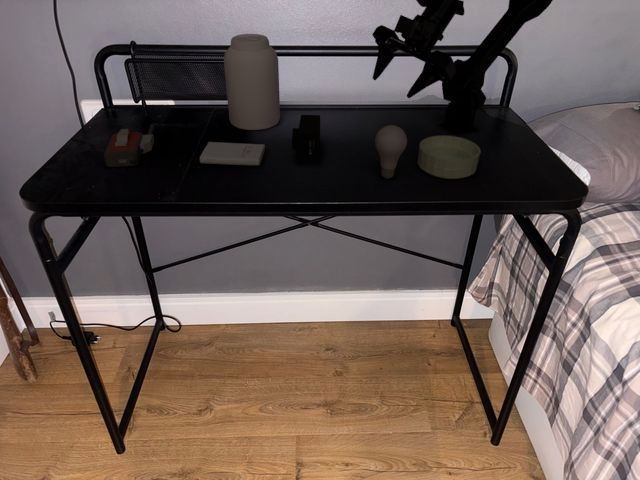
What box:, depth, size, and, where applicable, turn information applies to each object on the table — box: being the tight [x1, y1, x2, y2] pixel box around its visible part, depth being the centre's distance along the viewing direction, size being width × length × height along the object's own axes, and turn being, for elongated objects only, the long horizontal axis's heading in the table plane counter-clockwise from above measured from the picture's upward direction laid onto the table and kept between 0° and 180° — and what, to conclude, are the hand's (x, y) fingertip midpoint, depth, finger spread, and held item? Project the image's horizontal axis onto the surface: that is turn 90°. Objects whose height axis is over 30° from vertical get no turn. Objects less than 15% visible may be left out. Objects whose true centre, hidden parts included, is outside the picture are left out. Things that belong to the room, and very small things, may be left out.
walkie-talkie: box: [103, 123, 156, 168], centre depth 109 cm, size 9×4×20 cm
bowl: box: [416, 134, 482, 180], centre depth 104 cm, size 12×12×4 cm
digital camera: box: [291, 114, 321, 165], centre depth 108 cm, size 10×5×7 cm, turn 178°
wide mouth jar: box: [223, 33, 281, 131], centre depth 119 cm, size 12×12×20 cm
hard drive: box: [199, 141, 266, 167], centre depth 107 cm, size 2×8×12 cm
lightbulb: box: [374, 124, 408, 180], centre depth 98 cm, size 6×6×11 cm
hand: (390, 88), depth 104 cm, fingers open, 9 cm apart
